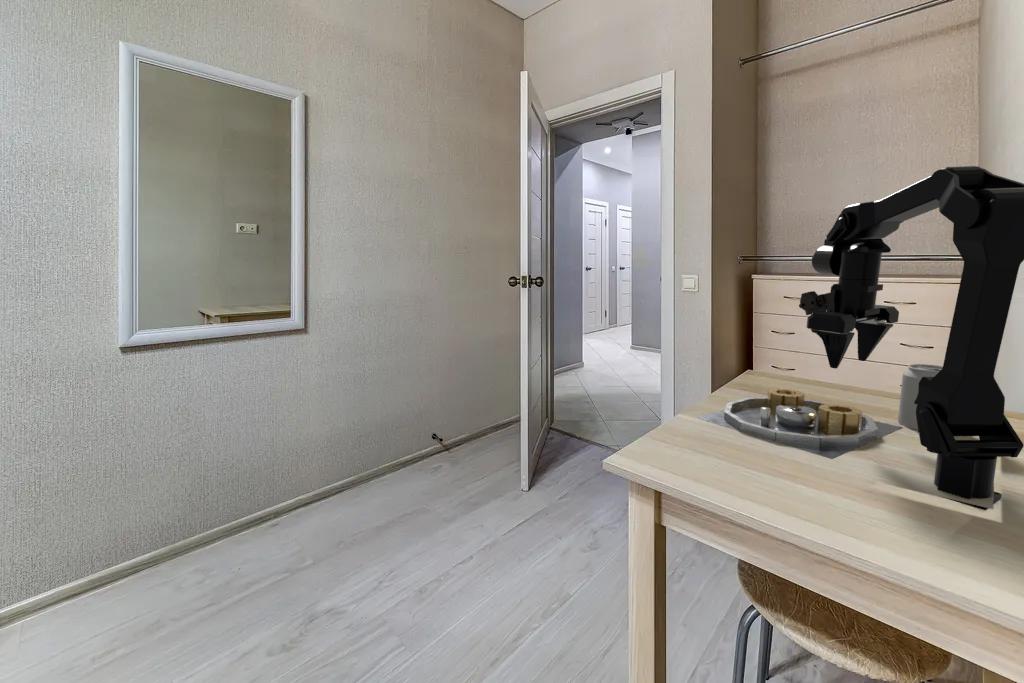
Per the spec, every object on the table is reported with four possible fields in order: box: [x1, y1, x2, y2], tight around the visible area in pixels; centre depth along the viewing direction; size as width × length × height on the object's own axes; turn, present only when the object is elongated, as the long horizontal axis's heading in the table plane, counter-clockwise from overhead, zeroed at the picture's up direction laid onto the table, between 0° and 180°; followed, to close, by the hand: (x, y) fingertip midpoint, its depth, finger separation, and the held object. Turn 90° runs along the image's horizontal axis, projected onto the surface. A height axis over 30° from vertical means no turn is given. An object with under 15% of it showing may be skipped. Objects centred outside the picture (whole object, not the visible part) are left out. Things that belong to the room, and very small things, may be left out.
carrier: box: [696, 394, 904, 460], centre depth 92 cm, size 25×25×4 cm
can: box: [897, 363, 943, 430], centre depth 88 cm, size 8×8×12 cm
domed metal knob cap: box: [775, 405, 816, 428], centre depth 92 cm, size 7×7×3 cm
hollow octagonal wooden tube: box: [817, 403, 863, 435], centre depth 87 cm, size 6×6×4 cm
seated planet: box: [766, 387, 806, 414], centre depth 99 cm, size 6×6×4 cm
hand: (848, 364), depth 88 cm, fingers open, 9 cm apart
